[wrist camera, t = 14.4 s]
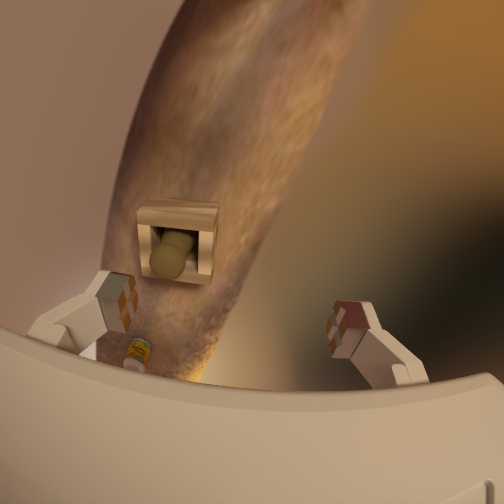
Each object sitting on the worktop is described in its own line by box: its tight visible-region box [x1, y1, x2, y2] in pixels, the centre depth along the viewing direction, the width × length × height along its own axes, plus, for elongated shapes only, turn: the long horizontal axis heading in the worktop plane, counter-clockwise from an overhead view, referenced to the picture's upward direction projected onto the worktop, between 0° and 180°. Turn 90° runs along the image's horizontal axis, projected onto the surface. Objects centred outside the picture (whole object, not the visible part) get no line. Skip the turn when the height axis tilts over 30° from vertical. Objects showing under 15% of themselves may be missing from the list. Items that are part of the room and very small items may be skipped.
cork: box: [149, 227, 199, 280], centre depth 41 cm, size 6×6×11 cm
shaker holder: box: [137, 197, 220, 285], centre depth 44 cm, size 11×11×6 cm
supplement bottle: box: [123, 338, 151, 373], centre depth 58 cm, size 5×5×10 cm
